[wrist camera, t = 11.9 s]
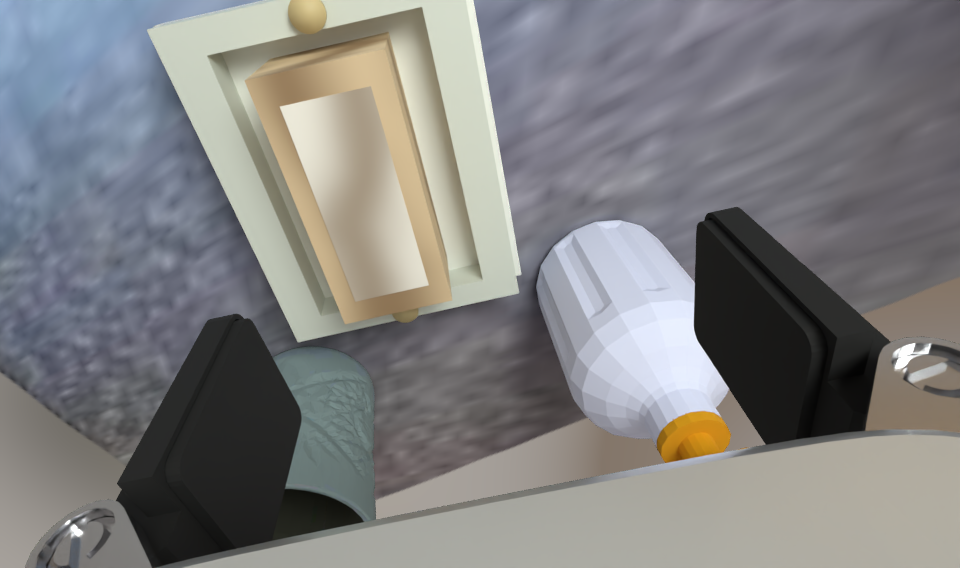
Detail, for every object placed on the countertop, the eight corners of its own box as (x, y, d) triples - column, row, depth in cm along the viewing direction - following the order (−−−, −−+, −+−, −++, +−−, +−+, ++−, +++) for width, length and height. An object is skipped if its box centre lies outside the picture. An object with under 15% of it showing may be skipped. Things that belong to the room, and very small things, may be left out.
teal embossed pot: (405, 364, 40) (404, 509, 30) (354, 453, 44) (338, 606, 34) (265, 319, 36) (210, 465, 26) (224, 420, 41) (163, 579, 30)
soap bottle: (687, 275, 38) (1016, 668, 18) (584, 349, 41) (765, 768, 20) (617, 189, 34) (941, 572, 13) (508, 278, 37) (637, 713, 16)
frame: (388, 31, 27) (385, 49, 23) (446, 255, 34) (452, 300, 30) (270, 58, 27) (244, 80, 23) (352, 276, 34) (345, 324, 30)
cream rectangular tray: (462, -47, 26) (470, -45, 23) (518, 265, 36) (528, 295, 33) (162, 22, 26) (131, 32, 23) (298, 314, 36) (289, 348, 33)
